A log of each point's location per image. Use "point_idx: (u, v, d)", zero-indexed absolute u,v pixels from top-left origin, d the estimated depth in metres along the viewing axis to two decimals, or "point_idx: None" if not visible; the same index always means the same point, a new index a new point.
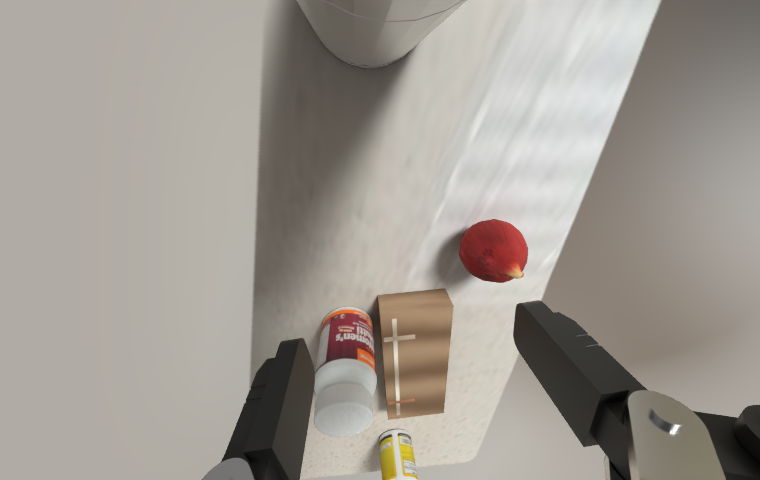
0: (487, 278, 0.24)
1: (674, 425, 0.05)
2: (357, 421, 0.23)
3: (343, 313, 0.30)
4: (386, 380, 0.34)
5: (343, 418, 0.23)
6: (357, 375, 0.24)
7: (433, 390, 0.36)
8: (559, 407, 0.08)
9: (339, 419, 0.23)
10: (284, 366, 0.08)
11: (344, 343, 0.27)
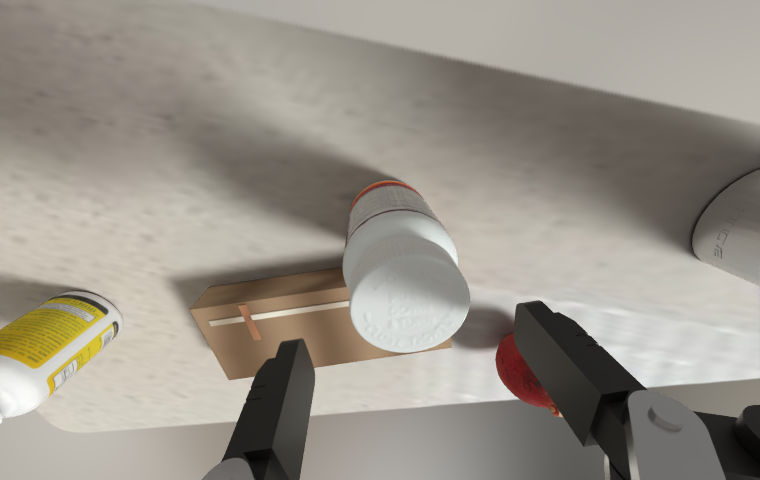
0: (533, 382, 0.22)
1: (674, 425, 0.05)
2: (401, 331, 0.12)
3: None
4: (303, 295, 0.20)
5: (416, 308, 0.11)
6: None
7: None
8: (559, 408, 0.08)
9: (415, 300, 0.11)
10: (284, 366, 0.08)
11: None
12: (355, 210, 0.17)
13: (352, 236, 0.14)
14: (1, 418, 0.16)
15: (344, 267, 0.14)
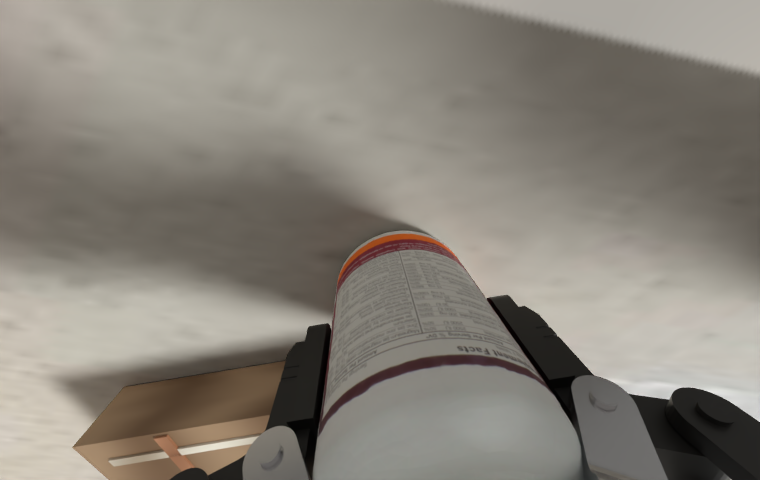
0: None
1: (608, 405, 0.06)
2: None
3: None
4: (261, 418, 0.12)
5: None
6: None
7: None
8: None
9: None
10: (315, 348, 0.09)
11: None
12: (344, 304, 0.09)
13: (333, 424, 0.06)
14: None
15: None
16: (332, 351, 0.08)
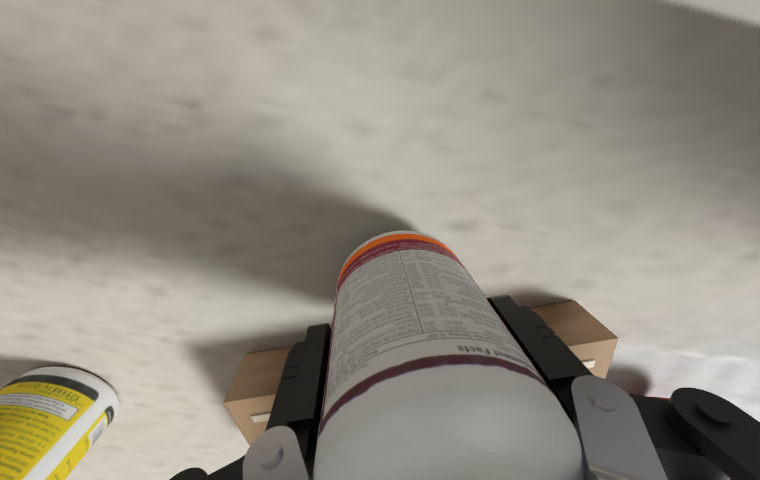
0: None
1: (608, 405, 0.06)
2: None
3: None
4: None
5: None
6: None
7: None
8: None
9: None
10: (315, 348, 0.09)
11: None
12: (345, 304, 0.09)
13: (334, 424, 0.06)
14: None
15: None
16: (332, 351, 0.08)
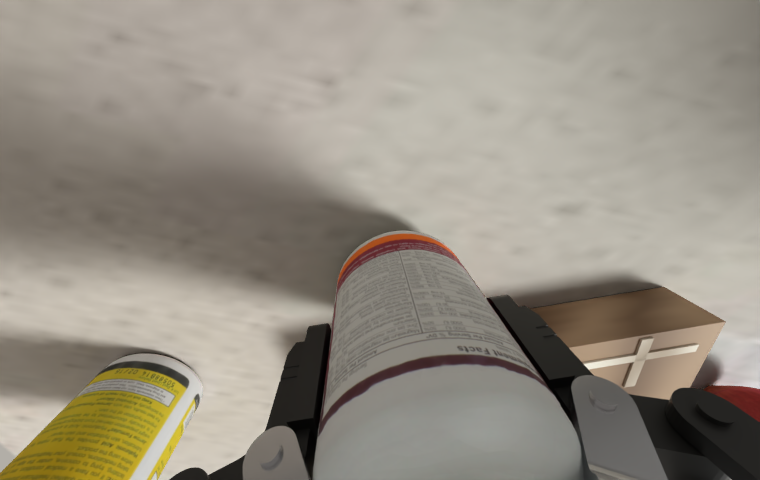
0: None
1: (608, 405, 0.06)
2: None
3: None
4: None
5: None
6: None
7: None
8: None
9: None
10: (315, 348, 0.09)
11: None
12: (344, 304, 0.09)
13: (333, 424, 0.06)
14: None
15: None
16: (332, 351, 0.08)
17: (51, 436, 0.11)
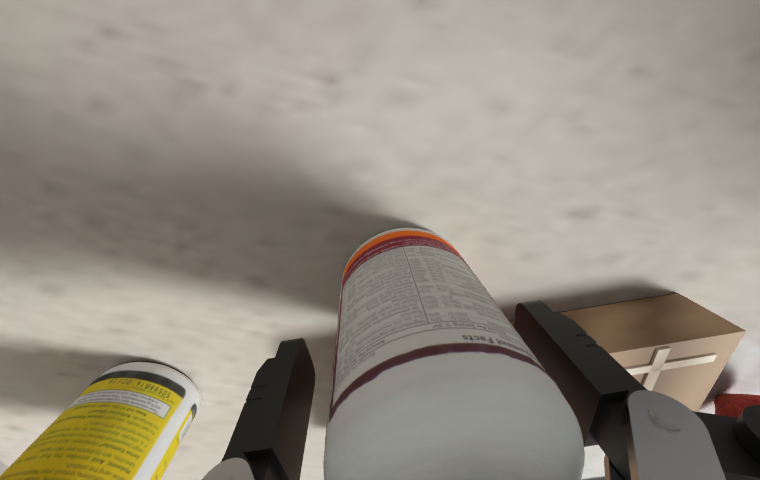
0: None
1: (674, 425, 0.05)
2: None
3: None
4: None
5: None
6: None
7: None
8: None
9: None
10: (284, 366, 0.08)
11: None
12: (351, 298, 0.09)
13: (344, 409, 0.06)
14: None
15: None
16: (340, 343, 0.08)
17: (39, 452, 0.11)
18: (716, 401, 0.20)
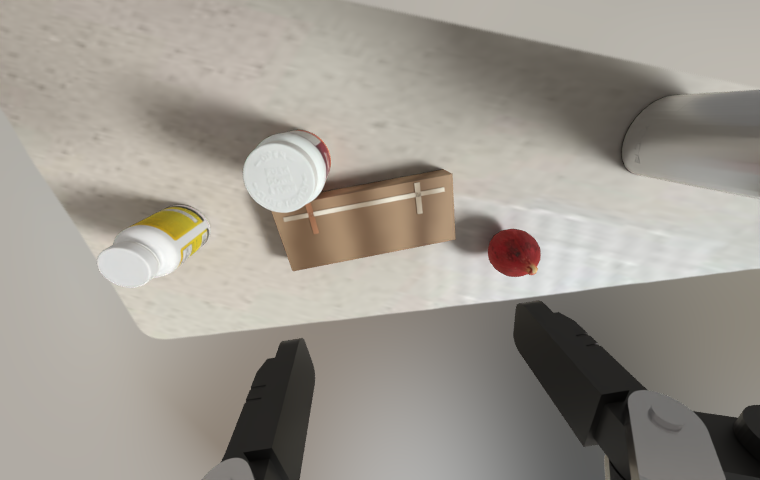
0: (514, 254, 0.31)
1: (674, 425, 0.05)
2: (278, 196, 0.20)
3: (329, 155, 0.29)
4: (350, 194, 0.29)
5: (283, 179, 0.20)
6: (317, 185, 0.23)
7: (334, 249, 0.32)
8: (559, 408, 0.08)
9: (281, 174, 0.19)
10: (284, 366, 0.08)
11: (326, 163, 0.25)
12: None
13: None
14: (159, 268, 0.24)
15: None
16: None
17: (148, 217, 0.26)
18: None
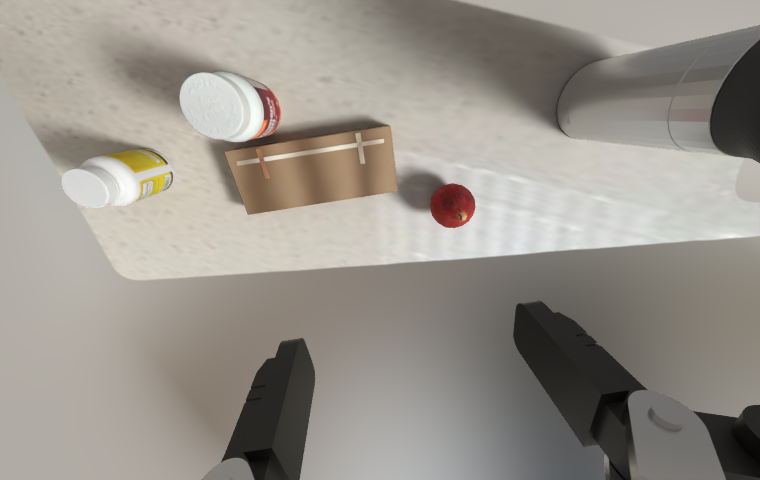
0: (447, 203, 0.33)
1: (674, 425, 0.05)
2: (211, 123, 0.23)
3: (278, 105, 0.32)
4: (297, 142, 0.32)
5: (214, 107, 0.23)
6: (253, 120, 0.26)
7: (285, 195, 0.35)
8: (559, 408, 0.08)
9: (213, 102, 0.23)
10: (284, 366, 0.08)
11: (268, 106, 0.28)
12: None
13: None
14: (118, 194, 0.28)
15: None
16: None
17: (113, 153, 0.30)
18: None
